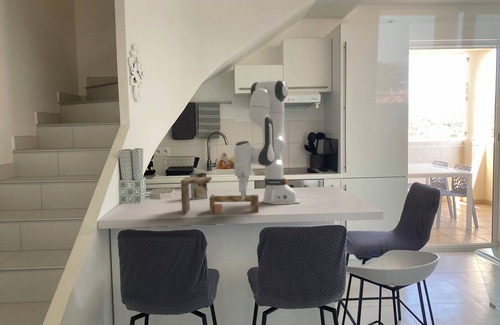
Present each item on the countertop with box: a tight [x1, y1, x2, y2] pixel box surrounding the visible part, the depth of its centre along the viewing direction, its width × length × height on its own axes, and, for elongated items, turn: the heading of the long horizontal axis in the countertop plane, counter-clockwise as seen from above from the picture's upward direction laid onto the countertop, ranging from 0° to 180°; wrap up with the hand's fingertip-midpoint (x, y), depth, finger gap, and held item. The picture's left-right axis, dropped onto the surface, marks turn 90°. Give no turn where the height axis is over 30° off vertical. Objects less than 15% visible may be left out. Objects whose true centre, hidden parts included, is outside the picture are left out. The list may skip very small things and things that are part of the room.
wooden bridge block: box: [209, 194, 260, 215], centre depth 215 cm, size 26×9×8 cm, turn 88°
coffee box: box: [189, 172, 208, 200], centre depth 258 cm, size 9×6×16 cm
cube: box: [213, 203, 223, 214], centre depth 216 cm, size 4×4×4 cm
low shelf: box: [180, 176, 212, 216], centre depth 216 cm, size 14×14×18 cm
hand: (243, 197), depth 215 cm, fingers open, 8 cm apart
